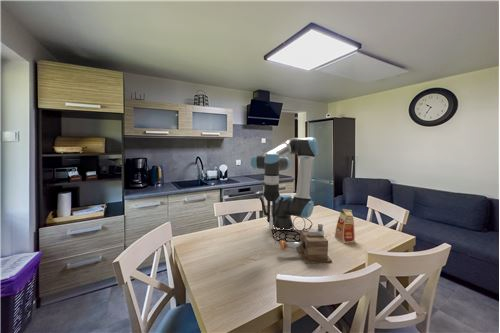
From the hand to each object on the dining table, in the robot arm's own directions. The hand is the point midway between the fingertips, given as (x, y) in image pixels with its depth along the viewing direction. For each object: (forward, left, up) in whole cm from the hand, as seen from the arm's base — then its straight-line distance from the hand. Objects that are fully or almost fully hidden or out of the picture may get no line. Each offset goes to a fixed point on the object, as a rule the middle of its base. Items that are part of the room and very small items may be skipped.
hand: (270, 227), depth 114 cm
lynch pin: (0, +13, -12) cm, 18 cm away
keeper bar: (0, +24, -5) cm, 25 cm away
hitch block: (0, +23, -16) cm, 28 cm away
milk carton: (-18, +50, -16) cm, 56 cm away
